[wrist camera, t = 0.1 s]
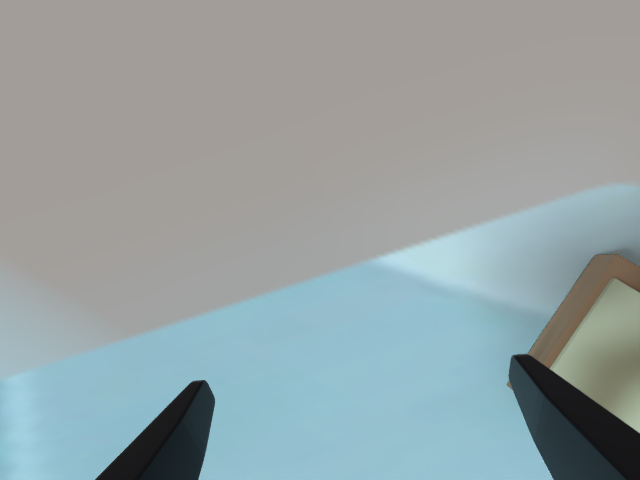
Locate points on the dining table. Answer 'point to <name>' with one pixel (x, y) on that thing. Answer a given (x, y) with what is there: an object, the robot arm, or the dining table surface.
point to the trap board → (599, 337)
